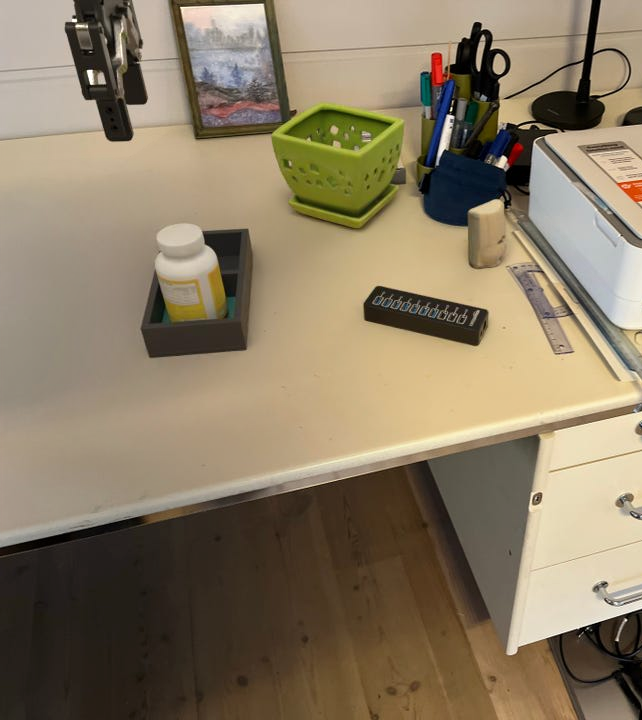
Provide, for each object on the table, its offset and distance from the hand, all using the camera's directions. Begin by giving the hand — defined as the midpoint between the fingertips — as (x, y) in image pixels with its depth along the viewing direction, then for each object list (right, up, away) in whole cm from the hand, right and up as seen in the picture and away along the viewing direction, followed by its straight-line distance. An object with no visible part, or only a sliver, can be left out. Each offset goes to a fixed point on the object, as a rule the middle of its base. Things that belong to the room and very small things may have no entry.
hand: (129, 121), depth 69 cm
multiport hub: (+26, -18, +21) cm, 38 cm away
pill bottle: (0, -18, +18) cm, 25 cm away
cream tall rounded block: (+33, -9, +32) cm, 47 cm away
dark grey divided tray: (-1, -15, +22) cm, 27 cm away
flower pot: (+13, 0, +41) cm, 43 cm away
